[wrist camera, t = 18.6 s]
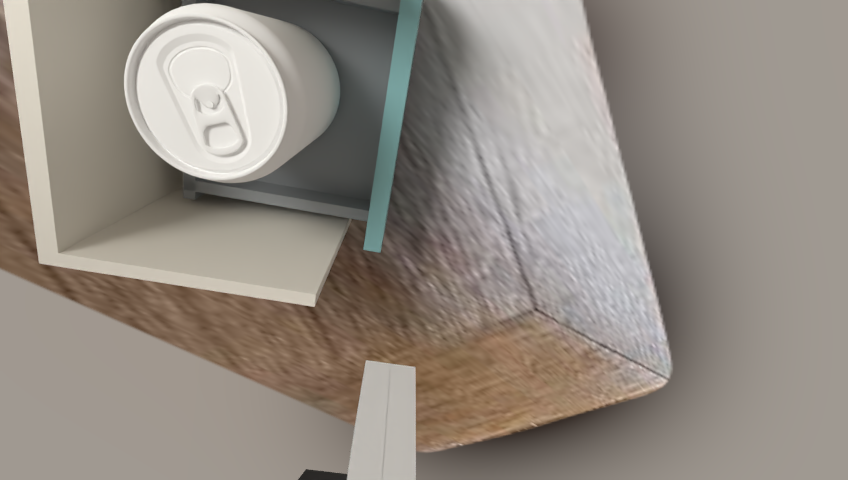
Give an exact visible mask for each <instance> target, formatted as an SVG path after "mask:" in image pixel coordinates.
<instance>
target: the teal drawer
mask: <svg viewBox="0 0 848 480" xmlns="http://www.w3.org/2000/svg"><path fill="white" fill-rule="evenodd" d="M198 3H212V4H220V5H225V6H229V7H233V8H236V9H240V10H244V11H248V12H251V13H255V14H259V15H263V16H266V17H270V18H274V19H278V20H281V21H285V22H289V23H292V24H295V25H297V26H299V27H301V28H303V29H305V30H306V31H308V32H309V33H311V34H312V35H313V36H314V37H316V38H317V39H318V40H319V41H320V42H321V43H322V45H323V46H324V47H325V48H326V50H327V51H328V53H329V54H330V56H331V58H332V60H333V62H334V64H335V66H336V69H337V72H338V76H339V82H340V100H339V106H338V109H337V112H336V115H335V117H334V119H333V121H332V123H331V124H330V126H329V127H328V128H327V129H326V130H325V132H324V133H322V134H321V135H320V136H319V137H318V138H316V139H315V140H314V141H313V142H311V143H310V144H309V145H307V146H306V147H305V148H304V149H302V150H301V151H300V152H298V153H297V154H296V155H295V156H293V157H292V158H291V159H289V160H288V161H287V162H286V163H284V164H283V165H282V166H280V167H279V168H278V169H276V170H275V171H273V172H272V173H270V174H268V175H266V176H264V177H262V178H259V179H256V180H252V181H248V182H241V183H223V182H216V181H211V180H207V179H203V178H199V177H195V176H192V175H189V174H187V173H185V172H183V198H187V199H193V200H196V199H197V198H199V197H200V196H202V195H204V194H211V195H217V196H223V197H229V198H234V199H240V200H246V201H252V202H258V203H263V204H269V205H275V206H281V207H286V208H292V209H298V210H304V211H310V212H315V213H321V214H327V215H333V216H339V217H344V218H350V219H356V220H362V221H367V228H366V235H365V241H364V248H363V250H368V251H374V252H381V247H382V242H383V237H384V232H385V227H386V221H387V215H388V209H389V203H390V197H391V191H392V185H393V179H394V173H395V167H396V161H397V155H398V149H399V143H400V137H401V131H402V125H403V119H404V113H405V107H406V101H407V95H408V89H409V83H410V77H411V71H412V65H413V59H414V53H415V47H416V41H417V35H418V28H419V22H420V16H421V10H422V4H423V0H182V6H186V5H191V4H198Z"/></svg>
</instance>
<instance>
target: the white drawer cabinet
mask: <svg viewBox="0 0 848 480" xmlns="http://www.w3.org/2000/svg"><path fill="white" fill-rule="evenodd" d="M3 4H4V11H5V18H6V25H7V33H8V40H9V47H10V55H11V62H12V69H13V76H14V84H15V91H16V98H17V106H18V113H19V120H20V127H21V135H22V142H23V149H24V157H25V164H26V171H27V179H28V186H29V193H30V200H31V208H32V215H33V222H34V230H35V237H36V244H37V251H38V259H39V264H45V265H52V266H58V267H65V268H71V269H77V270H84V271H90V272H96V273H103V274H109V275H115V276H122V277H128V278H134V279H141V280H147V281H154V282H160V283H166V284H173V285H179V286H185V287H192V288H198V289H204V290H211V291H217V292H223V293H230V294H236V295H243V296H249V297H255V298H262V299H268V300H274V301H281V302H287V303H293V304H300V305H306V306H312V307H315V304H316V302H317V300H318V297H319V295H320V293H321V290H322V288H323V286H324V283H325V281H326V279H327V276H328V274H329V272H330V269H331V267H332V265H333V262H334V260H335V257H336V255H337V253H338V250H339V248H340V246H341V243H342V241H343V239H344V236H345V234H346V232H347V229H348V227H349V225H350V222H351V220H352V219H350V218H344V217H339V216H333V215H327V214H321V213H315V212H310V211H304V210H298V209H292V208H286V207H281V206H275V205H269V204H263V203H258V202H252V201H246V200H240V199H234V198H229V197H223V196H217V195H211V194H204V195H202V196H200V197H199V198H197V199H196V200H193V199H187V198H183V171H180V170H179V169H177V168H175V167H173V166H172V165H170V164H169V163H167V162H166V161H165V160H163V159H162V158H161V157H160V156H159V155H157V154H156V153H155V152H154V151H153V150H152V149H151V148H150V146H149V145H148V144H147V143H146V142H145V140H144V139H143V138H142V136H141V135H140V133H139V132H138V130H137V128H136V126H135V124H134V122H133V120H132V118H131V115H130V113H129V110H128V106H127V103H126V98H125V91H124V73H125V67H126V62H127V59H128V56H129V53H130V51H131V49H132V47H133V45H134V44H135V42H136V41H137V39H138V38H139V37H140V35H141V34H142V33H143V32H144V31H145V30H146V29H147V28H149V26H150V25H151V24H152V23H153V22H155V21H156V20H157V19H158V18H160V17H161V16H162V15H164V14H166V13H167V12H169V11H171V10H174V9H176V8H179V7H182V0H3Z"/></svg>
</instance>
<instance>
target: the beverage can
mask: <svg viewBox="0 0 848 480" xmlns="http://www.w3.org/2000/svg"><path fill="white" fill-rule="evenodd" d="M124 91H125V98H126V103H127V106H128V110H129V113H130V115H131V118H132V120H133V122H134V124H135V126H136V128H137V130H138V132H139V133H140V135H141V136H142V138H143V139H144V140H145V142H146V143H147V144H148V145H149V146H150V148H151V149H152V150H153V151H154V152H155V153H156V154H157V155H159V156H160V157H161V158H162V159H163V160H165V161H166V162H167V163H169V164H170V165H172V166H173V167H175V168H177V169H179V170H180V171H183V172H185V173H187V174H189V175H192V176H195V177H199V178H203V179H207V180H211V181H216V182H223V183H241V182H248V181H252V180H256V179H259V178H262V177H264V176H266V175H268V174H270V173H272V172H273V171H275V170H276V169H278V168H279V167H280V166H282V165H283V164H284V163H286V162H287V161H288V160H289V159H291V158H292V157H293V156H295V155H296V154H297V153H298V152H300V151H301V150H302V149H304V148H305V147H306V146H307V145H309V144H310V143H311V142H313V141H314V140H315V139H316V138H318V137H319V136H320V135H321V134H322V133H324V132H325V130H326V129H327V128H328V127H329V126H330V124H331V123H332V121H333V119H334V117H335V115H336V112H337V109H338V106H339V100H340V82H339V76H338V72H337V69H336V66H335V64H334V62H333V60H332V58H331V56H330V54H329V53H328V51H327V50H326V48H325V47H324V46H323V45H322V43H321V42H320V41H319V40H318V39H317V38H316V37H314V36H313V35H312V34H311V33H309V32H308V31H306V30H305V29H303V28H301V27H299V26H297V25H295V24H292V23H289V22H285V21H281V20H278V19H274V18H270V17H266V16H263V15H259V14H255V13H251V12H248V11H244V10H240V9H236V8H233V7H229V6H225V5H220V4H212V3H198V4H191V5H186V6H182V7H179V8H176V9H174V10H171V11H169V12H167V13H166V14H164V15H162V16H161V17H160V18H158V19H157V20H156V21H155V22H153V23H152V24H151V25H150V26H149V28H147V29H146V30H145V31H144V32H143V33H142V34H141V35H140V37H139V38H138V39H137V41H136V42H135V44H134V45H133V47H132V49H131V51H130V53H129V56H128V59H127V62H126V67H125V73H124Z"/></svg>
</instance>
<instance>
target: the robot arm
mask: <svg viewBox="0 0 848 480" xmlns="http://www.w3.org/2000/svg"><path fill="white" fill-rule="evenodd" d="M298 480H416V383H415V367H411V366H403V365H396V364H389V363H382V362H375V361H368V360H366V363H365V369H364V375H363V381H362V387H361V393H360V398H359V404H358V410H357V416H356V422H355V428H354V435H353V441H352V447H351V454H350V460H349V466H348V472H347V474H341V473H332V472H324V471H315V470H307V469H306V470H305V472H304V473H303V474H302V475H301V477H300V478H299V479H298Z"/></svg>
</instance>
